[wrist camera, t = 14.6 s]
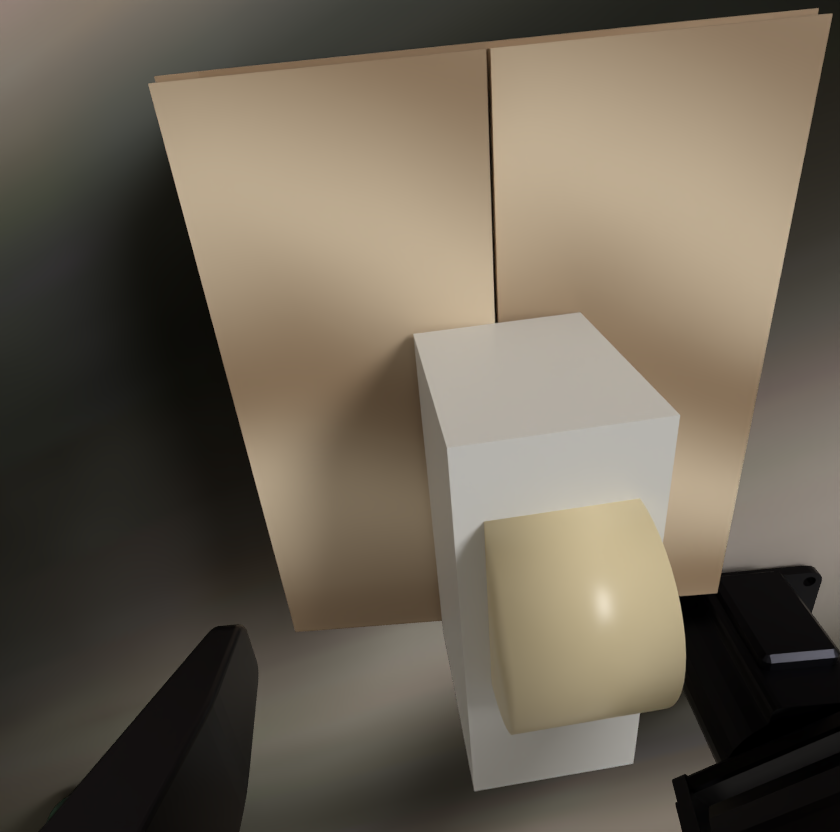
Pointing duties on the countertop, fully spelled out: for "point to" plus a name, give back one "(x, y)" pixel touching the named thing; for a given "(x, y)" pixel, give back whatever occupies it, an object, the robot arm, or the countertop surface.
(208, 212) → the flap
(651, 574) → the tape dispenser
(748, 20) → the cardboard box
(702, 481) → the flap
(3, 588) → the countertop surface
